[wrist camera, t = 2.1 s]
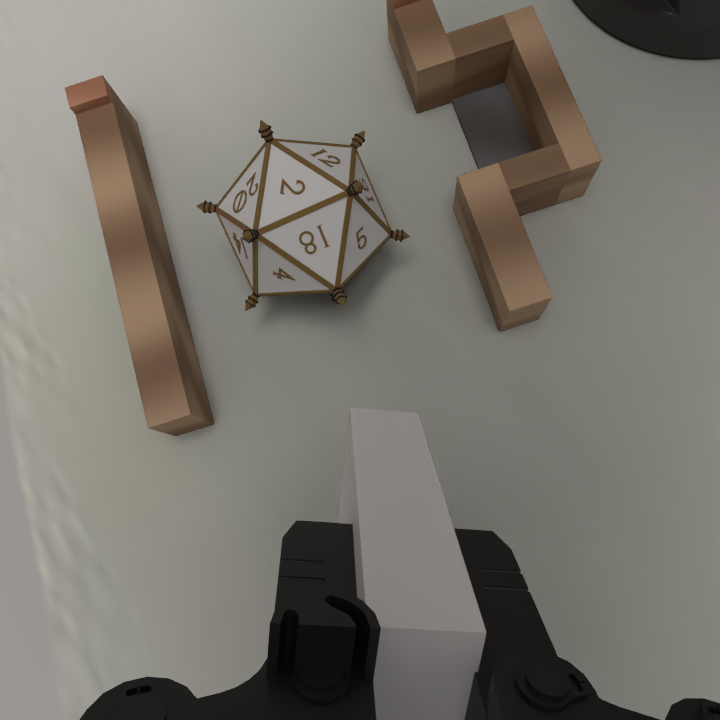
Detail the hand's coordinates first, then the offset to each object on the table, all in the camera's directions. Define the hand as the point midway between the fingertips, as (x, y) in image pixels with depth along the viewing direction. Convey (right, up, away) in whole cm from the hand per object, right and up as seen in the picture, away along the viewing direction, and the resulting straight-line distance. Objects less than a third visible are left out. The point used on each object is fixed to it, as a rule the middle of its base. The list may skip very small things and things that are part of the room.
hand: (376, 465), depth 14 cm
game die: (-3, +8, +20) cm, 21 cm away
